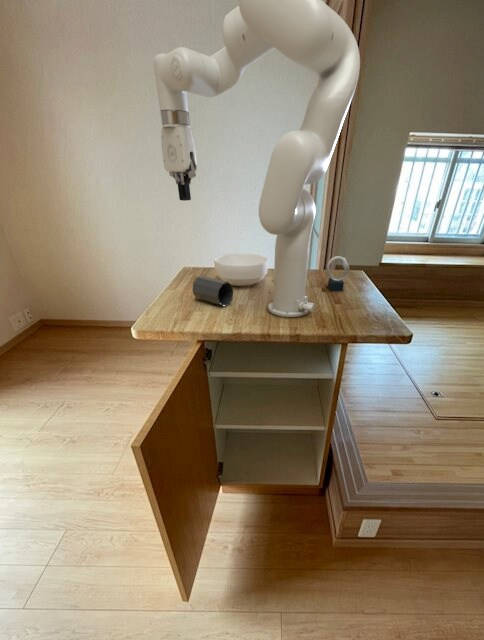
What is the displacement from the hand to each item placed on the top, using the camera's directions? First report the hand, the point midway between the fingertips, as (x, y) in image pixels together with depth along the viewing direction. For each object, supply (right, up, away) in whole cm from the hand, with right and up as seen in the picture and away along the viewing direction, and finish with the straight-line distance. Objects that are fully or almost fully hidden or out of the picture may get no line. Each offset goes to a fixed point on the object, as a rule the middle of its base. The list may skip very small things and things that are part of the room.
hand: (185, 200), depth 97 cm
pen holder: (+4, -25, +6) cm, 26 cm away
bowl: (+16, -17, +23) cm, 33 cm away
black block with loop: (+51, -21, +19) cm, 58 cm away
